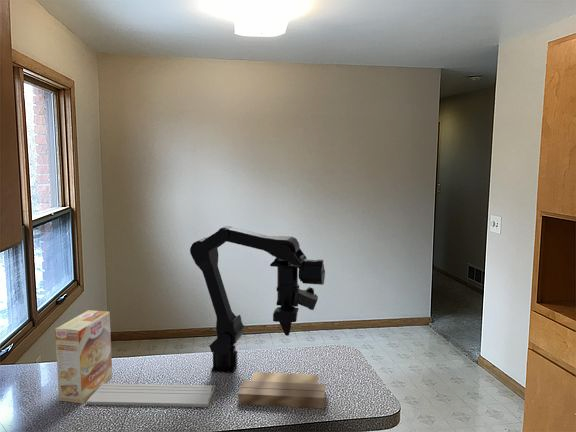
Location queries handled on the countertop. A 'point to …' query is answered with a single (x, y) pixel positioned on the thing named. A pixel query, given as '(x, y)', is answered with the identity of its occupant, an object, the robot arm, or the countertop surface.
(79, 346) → the coffeecake box
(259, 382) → the floor board
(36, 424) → the countertop surface
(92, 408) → the countertop surface
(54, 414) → the countertop surface
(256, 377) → the plank
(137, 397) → the baseboard molding
